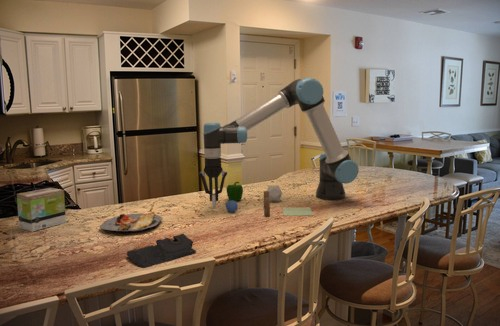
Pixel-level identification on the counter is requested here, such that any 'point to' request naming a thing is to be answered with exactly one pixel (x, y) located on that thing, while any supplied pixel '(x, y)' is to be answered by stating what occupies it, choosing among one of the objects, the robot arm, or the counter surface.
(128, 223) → the food plate
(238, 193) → the bell pepper
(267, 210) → the gate post
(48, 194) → the tea box
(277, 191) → the die
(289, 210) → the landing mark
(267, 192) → the gate post
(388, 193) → the counter surface
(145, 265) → the stepped dark grey slab
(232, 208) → the ball
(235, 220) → the counter surface
